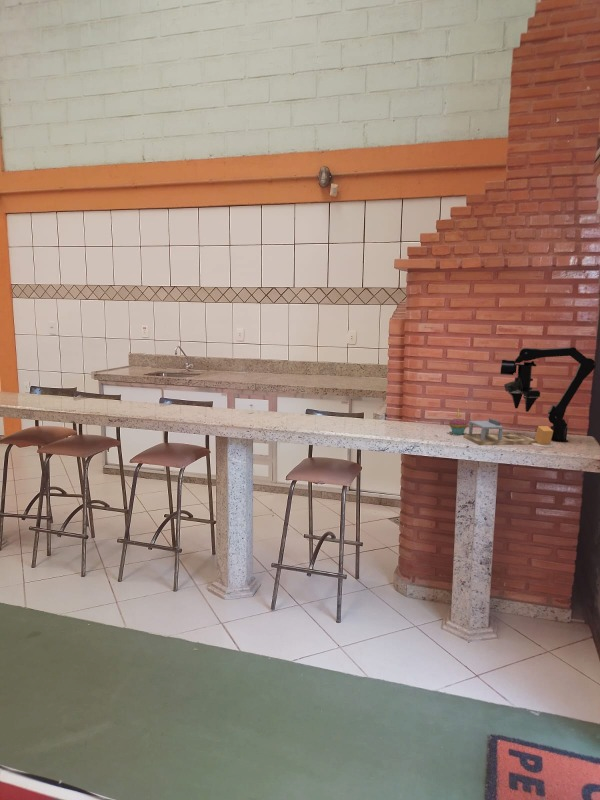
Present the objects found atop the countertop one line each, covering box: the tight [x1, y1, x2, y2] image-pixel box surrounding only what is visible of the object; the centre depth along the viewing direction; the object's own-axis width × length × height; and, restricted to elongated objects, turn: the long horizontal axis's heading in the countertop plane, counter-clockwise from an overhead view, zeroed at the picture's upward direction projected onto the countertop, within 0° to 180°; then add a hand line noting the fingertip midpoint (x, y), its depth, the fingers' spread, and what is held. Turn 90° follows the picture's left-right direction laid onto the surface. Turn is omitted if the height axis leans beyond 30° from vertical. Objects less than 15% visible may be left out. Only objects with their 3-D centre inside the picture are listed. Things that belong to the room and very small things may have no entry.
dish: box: [530, 442, 555, 448], centre depth 245 cm, size 9×9×1 cm
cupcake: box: [448, 407, 469, 436], centre depth 265 cm, size 9×8×12 cm
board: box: [462, 432, 538, 446], centre depth 252 cm, size 27×16×2 cm, turn 98°
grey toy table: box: [468, 418, 504, 441], centre depth 250 cm, size 9×14×8 cm, turn 8°
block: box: [534, 425, 553, 445], centre depth 244 cm, size 4×4×6 cm
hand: (521, 410), depth 260 cm, fingers open, 9 cm apart
